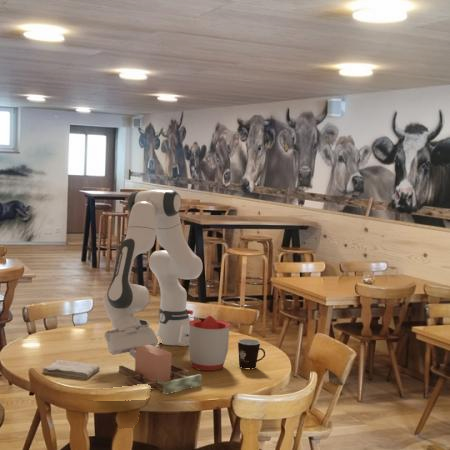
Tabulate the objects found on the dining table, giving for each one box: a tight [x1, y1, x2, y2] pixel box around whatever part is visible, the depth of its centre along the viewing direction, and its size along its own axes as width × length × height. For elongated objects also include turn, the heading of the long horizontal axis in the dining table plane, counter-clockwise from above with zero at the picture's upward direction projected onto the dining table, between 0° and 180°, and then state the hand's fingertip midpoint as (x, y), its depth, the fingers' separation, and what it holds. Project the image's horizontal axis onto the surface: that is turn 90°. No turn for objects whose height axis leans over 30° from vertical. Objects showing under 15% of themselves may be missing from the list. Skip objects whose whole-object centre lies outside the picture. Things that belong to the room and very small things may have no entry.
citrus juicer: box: [188, 315, 231, 371], centre depth 261 cm, size 16×17×20 cm
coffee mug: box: [237, 338, 266, 370], centre depth 262 cm, size 12×9×10 cm
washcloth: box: [42, 359, 101, 380], centre depth 245 cm, size 12×18×3 cm, turn 78°
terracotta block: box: [134, 345, 173, 382], centre depth 244 cm, size 6×13×10 cm, turn 43°
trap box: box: [118, 363, 202, 395], centre depth 243 cm, size 24×29×4 cm
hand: (140, 360), depth 249 cm, fingers closed
